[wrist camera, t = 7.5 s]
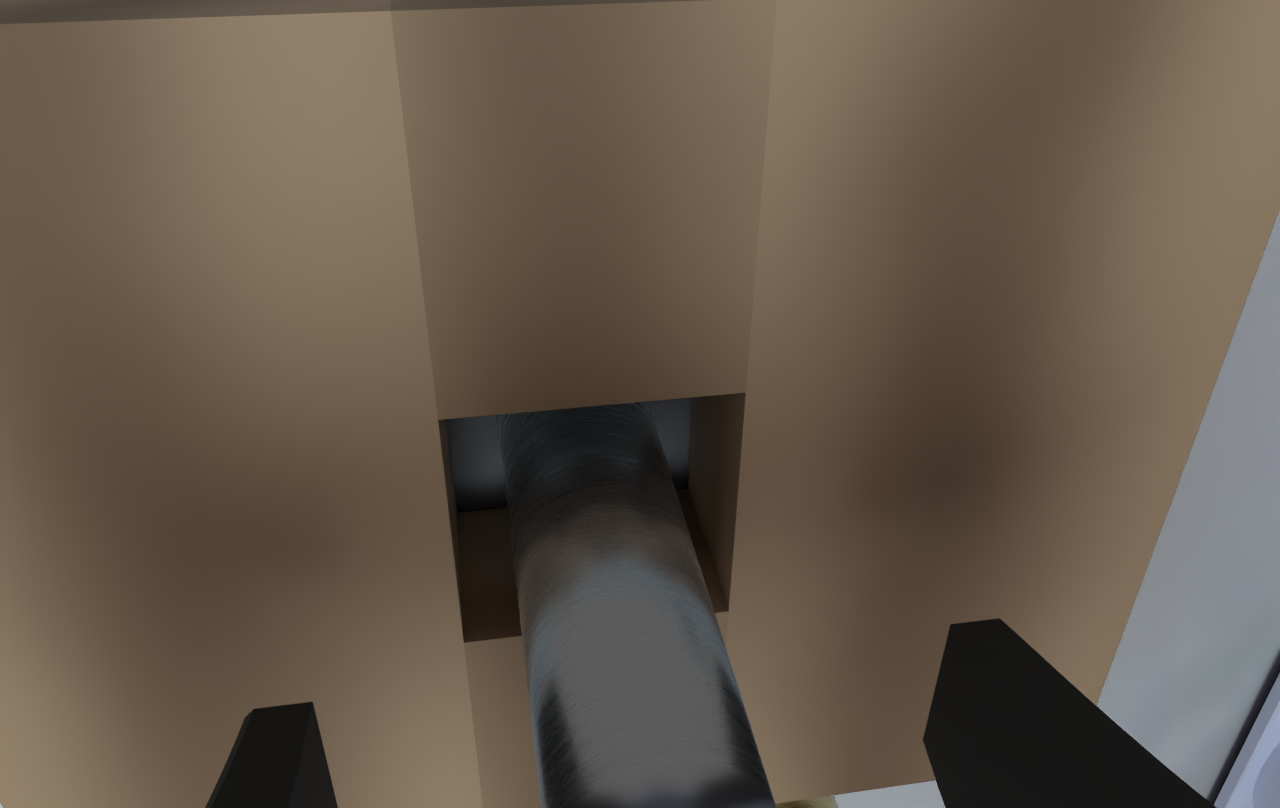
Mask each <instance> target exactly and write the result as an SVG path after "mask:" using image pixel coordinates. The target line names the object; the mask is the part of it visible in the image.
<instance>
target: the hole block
mask: <svg viewBox="0 0 1280 808" xmlns="http://www.w3.org/2000/svg"><path fill="white" fill-rule="evenodd" d="M1279 210H1280V0H0V802H1V804H2V806H3V808H205V807H206V805H207V803H208V801H209V799H210V797H211V794H212V792H213V790H214V788H215V786H216V784H217V782H218V779H219V777H220V775H221V773H222V771H223V768H224V766H225V764H226V762H227V759H228V757H229V755H230V752H231V750H232V748H233V745H234V743H235V741H236V738H237V736H238V733H239V731H240V728H241V726H242V723H243V721H244V718H245V717H246V716H247V715H248V714H249V713H250V712H251V711H252V710H253V709H256V708H264V707H273V706H281V705H289V704H297V703H305V702H313V704H314V709H315V713H316V717H317V721H318V726H319V730H320V734H321V738H322V742H323V747H324V751H325V755H326V759H327V764H328V768H329V772H330V776H331V780H332V785H333V789H334V793H335V797H336V801H337V806H338V808H541V803H540V794H539V785H538V776H537V767H536V758H535V749H534V740H533V731H532V722H531V713H530V704H529V695H528V686H527V677H526V668H525V659H524V650H523V641H522V632H521V623H520V614H519V605H518V596H517V587H516V578H515V569H514V560H513V551H512V542H511V533H510V524H509V515H508V508H498V509H488V510H479V511H469V512H459V513H457V508H456V499H455V490H454V481H453V472H452V463H451V454H450V445H449V436H448V427H447V419H455V418H466V417H477V416H489V415H500V414H511V413H522V412H534V411H545V410H556V409H567V408H579V407H590V406H601V405H612V404H624V403H635V402H646V401H657V400H669V399H680V398H691V397H692V411H691V433H690V455H689V477H688V489H685V490H676V492H677V496H678V499H679V502H680V505H681V508H682V511H683V514H684V518H685V521H686V524H687V527H688V530H689V533H690V537H691V540H692V543H693V546H694V549H695V552H696V555H697V559H698V562H699V565H700V568H701V571H702V574H703V577H704V581H705V584H706V587H707V590H708V593H709V596H710V600H711V603H712V606H713V609H714V612H715V615H716V618H717V622H718V625H719V628H720V631H721V634H722V637H723V640H724V644H725V647H726V650H727V653H728V656H729V659H730V663H731V666H732V669H733V672H734V675H735V678H736V681H737V685H738V688H739V691H740V694H741V697H742V700H743V703H744V707H745V710H746V713H747V716H748V719H749V722H750V726H751V729H752V732H753V735H754V738H755V741H756V744H757V748H758V751H759V754H760V757H761V760H762V763H763V767H764V770H765V773H766V776H767V779H768V782H769V785H770V789H771V792H772V795H773V798H774V801H775V804H776V803H783V802H790V801H797V800H804V799H810V798H817V797H824V796H831V795H838V794H844V793H851V792H858V791H865V790H872V789H878V788H885V787H892V786H899V785H906V784H912V783H919V782H926V781H933V780H936V779H935V776H934V773H933V770H932V767H931V764H930V761H929V758H928V755H927V751H926V748H925V745H924V742H923V737H924V732H925V728H926V724H927V720H928V716H929V711H930V707H931V703H932V699H933V695H934V691H935V686H936V682H937V678H938V674H939V670H940V665H941V661H942V657H943V653H944V649H945V645H946V640H947V636H948V632H949V628H950V624H956V623H964V622H972V621H981V620H989V619H997V618H1000V619H1001V620H1002V621H1003V622H1005V623H1006V624H1007V625H1008V626H1009V627H1010V628H1011V629H1012V630H1013V631H1015V632H1016V633H1017V634H1018V635H1019V636H1020V637H1021V638H1022V639H1023V640H1024V641H1025V642H1027V643H1028V644H1029V645H1030V646H1031V647H1032V648H1033V649H1034V650H1035V651H1036V652H1038V653H1039V654H1040V655H1041V656H1042V657H1043V658H1044V659H1045V660H1046V661H1047V662H1048V663H1050V664H1051V665H1052V666H1053V667H1054V668H1055V669H1056V670H1057V671H1058V672H1059V673H1060V674H1062V675H1063V676H1064V677H1065V678H1066V679H1067V680H1068V681H1069V682H1070V683H1071V684H1073V685H1074V686H1075V687H1076V688H1077V689H1078V690H1079V691H1080V692H1081V693H1083V694H1084V695H1085V696H1086V697H1087V698H1088V699H1089V700H1090V701H1091V702H1092V703H1094V704H1095V705H1097V702H1098V699H1099V697H1100V694H1101V691H1102V688H1103V686H1104V683H1105V680H1106V678H1107V675H1108V672H1109V670H1110V667H1111V664H1112V661H1113V659H1114V656H1115V653H1116V651H1117V648H1118V645H1119V642H1120V640H1121V637H1122V634H1123V632H1124V629H1125V626H1126V624H1127V621H1128V618H1129V615H1130V613H1131V610H1132V607H1133V605H1134V602H1135V599H1136V596H1137V594H1138V591H1139V588H1140V586H1141V583H1142V580H1143V578H1144V575H1145V572H1146V569H1147V567H1148V564H1149V561H1150V559H1151V556H1152V553H1153V551H1154V548H1155V545H1156V542H1157V540H1158V537H1159V534H1160V532H1161V529H1162V526H1163V523H1164V521H1165V518H1166V515H1167V513H1168V510H1169V507H1170V505H1171V502H1172V499H1173V496H1174V494H1175V491H1176V488H1177V486H1178V483H1179V480H1180V477H1181V475H1182V472H1183V469H1184V467H1185V464H1186V461H1187V459H1188V456H1189V453H1190V450H1191V448H1192V445H1193V442H1194V440H1195V437H1196V434H1197V431H1198V429H1199V426H1200V423H1201V421H1202V418H1203V415H1204V413H1205V410H1206V407H1207V404H1208V402H1209V399H1210V396H1211V394H1212V391H1213V388H1214V385H1215V383H1216V380H1217V377H1218V375H1219V372H1220V369H1221V367H1222V364H1223V361H1224V358H1225V356H1226V353H1227V350H1228V348H1229V345H1230V342H1231V340H1232V337H1233V334H1234V331H1235V329H1236V326H1237V323H1238V321H1239V318H1240V315H1241V312H1242V310H1243V307H1244V304H1245V302H1246V299H1247V296H1248V294H1249V291H1250V288H1251V285H1252V283H1253V280H1254V277H1255V275H1256V272H1257V269H1258V266H1259V264H1260V261H1261V258H1262V256H1263V253H1264V250H1265V248H1266V245H1267V242H1268V239H1269V237H1270V234H1271V231H1272V229H1273V226H1274V223H1275V220H1276V218H1277V215H1278V212H1279Z"/></svg>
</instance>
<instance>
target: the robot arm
mask: <svg viewBox="0 0 1280 808" xmlns="http://www.w3.org/2000/svg"><path fill="white" fill-rule="evenodd" d="M923 742H924V745H925V748H926V751H927V755H928V758H929V761H930V764H931V767H932V770H933V773H934V776H935V779H936V782H937V785H938V788H939V791H940V793H941V796H942V799H943V802H944V804H945V807H946V808H1280V673H1279V675H1278V677H1277V679H1276V681H1275V683H1274V685H1273V687H1272V689H1271V691H1270V693H1269V695H1268V697H1267V699H1266V701H1265V703H1264V705H1263V707H1262V709H1261V711H1260V713H1259V715H1258V717H1257V719H1256V721H1255V723H1254V725H1253V727H1252V729H1251V731H1250V733H1249V735H1248V737H1247V739H1246V741H1245V743H1244V745H1243V747H1242V749H1241V751H1240V753H1239V755H1238V757H1237V759H1236V761H1235V763H1234V765H1233V767H1232V769H1231V771H1230V773H1229V775H1228V777H1227V779H1226V781H1225V783H1224V785H1223V787H1222V789H1221V791H1220V793H1219V795H1218V797H1217V799H1216V801H1215V803H1214V805H1213V804H1211V803H1210V802H1209V801H1208V800H1206V799H1205V798H1204V797H1203V796H1201V795H1200V794H1199V793H1197V792H1196V791H1195V790H1194V789H1193V788H1191V787H1190V786H1189V785H1188V784H1186V783H1185V782H1184V781H1183V780H1182V779H1180V778H1179V777H1178V776H1177V775H1175V774H1174V773H1173V772H1172V771H1171V770H1169V769H1168V768H1167V767H1166V766H1165V765H1164V764H1162V763H1161V762H1160V761H1159V760H1158V759H1157V758H1155V757H1154V756H1153V755H1152V754H1151V753H1150V752H1148V751H1147V750H1146V749H1145V748H1144V747H1143V746H1141V745H1140V744H1139V743H1138V742H1137V741H1136V740H1134V739H1133V738H1132V737H1131V736H1130V735H1129V734H1127V733H1126V732H1125V731H1124V730H1123V729H1122V728H1121V727H1119V726H1118V725H1117V724H1116V723H1115V722H1114V721H1113V720H1111V719H1110V718H1109V717H1108V716H1107V715H1106V714H1105V713H1104V712H1102V711H1101V710H1100V709H1099V708H1098V707H1097V706H1096V705H1095V704H1094V703H1092V702H1091V701H1090V700H1089V699H1088V698H1087V697H1086V696H1085V695H1084V694H1083V693H1081V692H1080V691H1079V690H1078V689H1077V688H1076V687H1075V686H1074V685H1073V684H1071V683H1070V682H1069V681H1068V680H1067V679H1066V678H1065V677H1064V676H1063V675H1062V674H1060V673H1059V672H1058V671H1057V670H1056V669H1055V668H1054V667H1053V666H1052V665H1051V664H1050V663H1048V662H1047V661H1046V660H1045V659H1044V658H1043V657H1042V656H1041V655H1040V654H1039V653H1038V652H1036V651H1035V650H1034V649H1033V648H1032V647H1031V646H1030V645H1029V644H1028V643H1027V642H1025V641H1024V640H1023V639H1022V638H1021V637H1020V636H1019V635H1018V634H1017V633H1016V632H1015V631H1013V630H1012V629H1011V628H1010V627H1009V626H1008V625H1007V624H1006V623H1005V622H1003V621H1002V620H1001V619H1000V618H997V619H989V620H981V621H972V622H964V623H956V624H950V628H949V632H948V636H947V640H946V645H945V649H944V653H943V657H942V661H941V665H940V670H939V674H938V678H937V682H936V686H935V691H934V695H933V699H932V703H931V707H930V711H929V716H928V720H927V724H926V728H925V732H924V737H923ZM205 808H338V806H337V801H336V797H335V793H334V789H333V785H332V780H331V776H330V772H329V768H328V764H327V759H326V755H325V751H324V747H323V742H322V738H321V734H320V730H319V726H318V721H317V717H316V713H315V709H314V704H313V702H305V703H297V704H289V705H281V706H273V707H264V708H256V709H253V710H252V711H251V712H250V713H249V714H248V715H247V716H246V717H245V718H244V721H243V723H242V726H241V728H240V731H239V733H238V736H237V738H236V741H235V743H234V745H233V748H232V750H231V752H230V755H229V757H228V759H227V762H226V764H225V766H224V768H223V771H222V773H221V775H220V777H219V779H218V782H217V784H216V786H215V788H214V790H213V792H212V794H211V797H210V799H209V801H208V803H207V805H206V807H205Z"/></svg>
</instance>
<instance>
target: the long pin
mask: <svg viewBox="0 0 1280 808" xmlns="http://www.w3.org/2000/svg"><path fill="white" fill-rule="evenodd" d="M497 416H498V425H499V434H500V443H501V452H502V461H503V470H504V479H505V488H506V497H507V506H508V515H509V524H510V533H511V542H512V551H513V560H514V569H515V578H516V587H517V596H518V605H519V614H520V623H521V632H522V641H523V650H524V659H525V668H526V677H527V686H528V695H529V704H530V713H531V722H532V731H533V740H534V749H535V758H536V767H537V776H538V785H539V794H540V803H541V808H777V807H776V804H775V801H774V798H773V795H772V792H771V789H770V785H769V782H768V779H767V776H766V773H765V770H764V767H763V763H762V760H761V757H760V754H759V751H758V748H757V744H756V741H755V738H754V735H753V732H752V729H751V726H750V722H749V719H748V716H747V713H746V710H745V707H744V703H743V700H742V697H741V694H740V691H739V688H738V685H737V681H736V678H735V675H734V672H733V669H732V666H731V663H730V659H729V656H728V653H727V650H726V647H725V644H724V640H723V637H722V634H721V631H720V628H719V625H718V622H717V618H716V615H715V612H714V609H713V606H712V603H711V600H710V596H709V593H708V590H707V587H706V584H705V581H704V577H703V574H702V571H701V568H700V565H699V562H698V559H697V555H696V552H695V549H694V546H693V543H692V540H691V537H690V533H689V530H688V527H687V524H686V521H685V518H684V514H683V511H682V508H681V505H680V502H679V499H678V496H677V492H676V489H675V486H674V483H673V480H672V477H671V474H670V470H669V467H668V464H667V461H666V458H665V455H664V451H663V448H662V445H661V442H660V439H659V436H658V433H657V429H656V426H655V423H654V420H653V417H652V414H651V411H650V407H649V404H648V401H646V402H635V403H624V404H612V405H601V406H590V407H579V408H567V409H556V410H545V411H534V412H522V413H511V414H500V415H497Z"/></svg>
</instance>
